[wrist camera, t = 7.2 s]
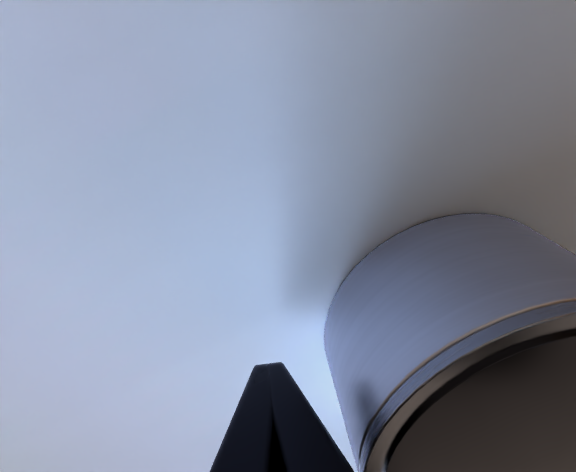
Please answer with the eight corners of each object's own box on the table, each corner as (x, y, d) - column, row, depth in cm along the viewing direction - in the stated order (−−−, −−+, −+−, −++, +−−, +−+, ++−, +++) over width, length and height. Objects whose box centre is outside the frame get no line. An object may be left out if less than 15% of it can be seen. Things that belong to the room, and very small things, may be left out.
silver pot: (521, 394, 13) (631, 528, 9) (320, 416, 12) (353, 569, 8) (593, 204, 10) (809, 294, 6) (327, 221, 9) (383, 333, 5)
